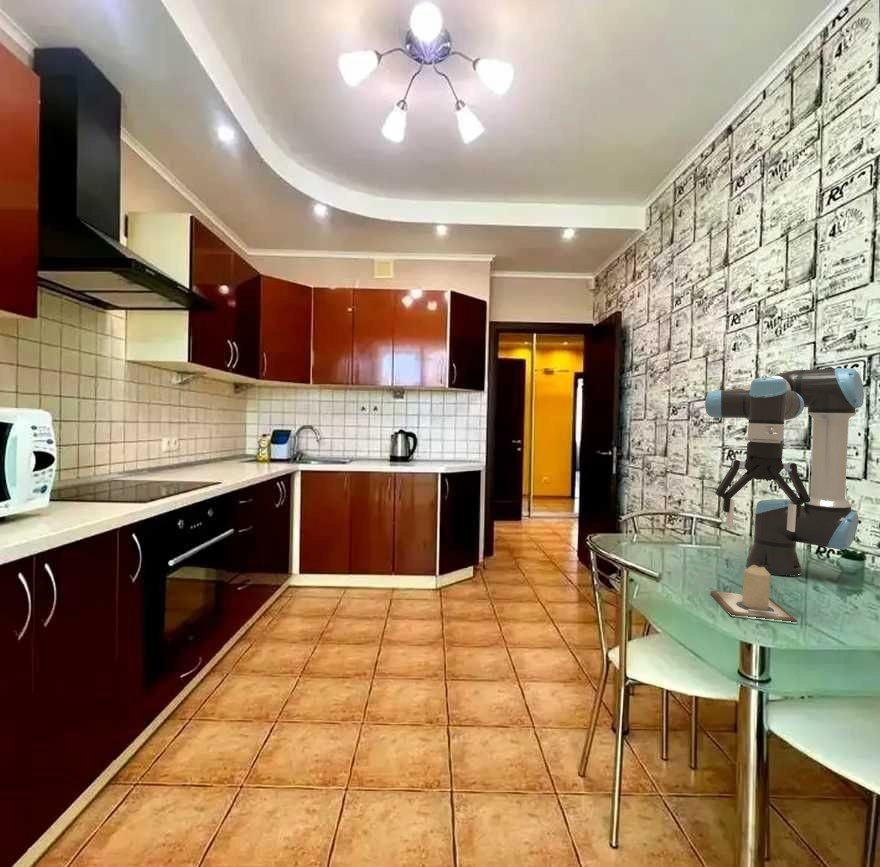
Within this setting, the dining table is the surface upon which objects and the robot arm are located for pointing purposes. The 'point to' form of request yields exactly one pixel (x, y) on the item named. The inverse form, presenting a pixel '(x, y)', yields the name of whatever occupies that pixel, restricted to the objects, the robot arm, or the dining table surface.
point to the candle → (756, 588)
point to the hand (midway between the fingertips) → (759, 528)
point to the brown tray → (735, 607)
